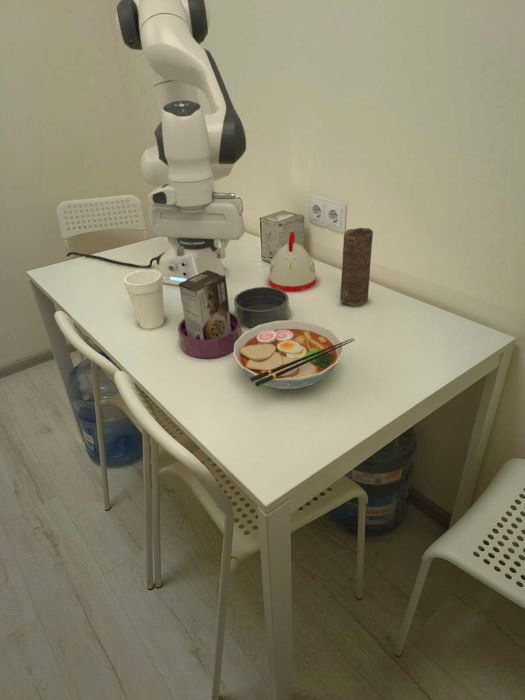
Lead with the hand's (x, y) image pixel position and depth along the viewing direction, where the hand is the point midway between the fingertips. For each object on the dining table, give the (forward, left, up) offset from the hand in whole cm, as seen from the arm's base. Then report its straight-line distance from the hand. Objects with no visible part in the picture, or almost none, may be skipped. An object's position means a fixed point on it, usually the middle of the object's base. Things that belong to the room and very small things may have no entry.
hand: (200, 256), depth 104 cm
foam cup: (-19, +7, -22) cm, 30 cm away
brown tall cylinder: (+32, +26, -22) cm, 47 cm away
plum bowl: (0, 0, -22) cm, 22 cm away
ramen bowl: (+21, -10, -22) cm, 32 cm away
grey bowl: (+9, +15, -22) cm, 28 cm away
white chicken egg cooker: (+13, +37, -22) cm, 45 cm away
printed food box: (0, 0, -22) cm, 22 cm away
